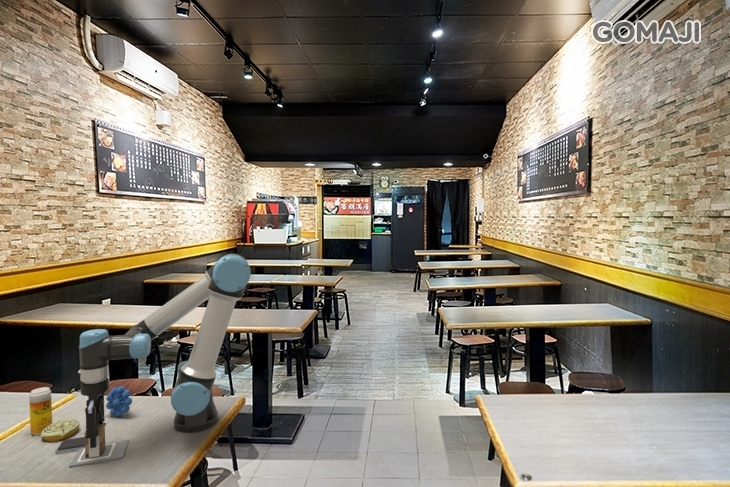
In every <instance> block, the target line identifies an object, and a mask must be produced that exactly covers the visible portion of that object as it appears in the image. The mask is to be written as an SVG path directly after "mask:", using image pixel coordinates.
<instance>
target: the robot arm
mask: <svg viewBox="0 0 730 487" xmlns="http://www.w3.org/2000/svg"><path fill="white" fill-rule="evenodd" d="M251 274H252V272H251V267H250V264H249V263H248V261H247V259H246V258H245V257H244V256H243V255H241V254H239V253H232V252H230V253H226V254H224V255H222V256H221V257H220V258H219V259H218V260H217V261H216V262H215V263H214V264H213V265H212V266H211V267H210V268H208V269H207V270H205V275H203V276H202V277H200V278H199V279H198V280H196V281H195V282H194V283H192V284H191V285H189V286H188V287H187V288H186V289H184V290H182V291H181V292H179V294H177V295H176V296H174V297H173V298H172V299H170V300H168V301H167V302H166V303H165V304H163V305H162V306H160V307H159V308H158V309H156V310H155V311H153V312H152V313H150V314H149V315H148V316H147V317H145V318H144V319H142V320H141V321H140V322H138V323H136V324H134V325H133V326H131V327H130V328H129V330H128V331H127V332H126V333H125V334H120V335H109V331H108V330H107V329H105V328H103V329H102V328H96V329H90V330H89V329H88V330H87V331H84V332H82V333H81V334H80V335H79V345H78V349H79V351H78V352H79V370H78V371H77V373H78V374H79V375H80V383H79V385H80V394H81V396H84V397H87V400H86V403H85V404H86V405H85V406H86V407H85V408H84V411H85V412H84V413H85V431H86V436H85V435H84V437H85V438H87V439H88V440H89V458H91V457H97V456H99V455H100V448H99V435H98V425H100V424H105V427H106V425H107V422H105V421H106V419H105V393H107V391H108V390H109V389H110V387H109V386H110V379H109V376H110V371H109V370H110V369H109V361H114V360H116V361H117V360H124V359H125V360H127V359H128V360H130V359H141V358H146V357H149V355H150V353H151V349H152V341H154V339H156V338H157V337H158V336H159V335H161V334H162V333H163V332H165V331H166V330H168V329H169V328H170V327H171V326H173V325H174V324H176V323H177V322H178V321H180V320H181V319H182V318H184V317H185V316H187V315H188V314H189V313H191V312H192V311H194V310H196V308H197V307H199V306H200V305H202V304H204V302H206V301H208V302H207V305H206V307H205V310H204V314H203V317H202V319H201V322H200V326H199V328H198V331H197V334H196V338H195V340H194V343H193V347H192V350H191V352H190V356H189V358H188V360H185V361H182V362H180V363H179V364H178V365H177V370H176V371H177V379H176V381H175V385H174V388H173V390H172V391H171V395H170V405H171V407H172V409H173V411H175V416H174V420H173V428H174V430H176V432H180V433H197V432H200V431H201V432H202V431H205V430H207V429H209V428H211V427H213V426H214V425H216V424H217V423H218V421H219V412H218V408H217V407H216V404H215V402H214V395H213V394H214V392H213V389H214V388H213V386H214V383H215V381H216V377H217V372H216V371H215V369H214V368H215V366H216V363H217V359H218V358H219V354H220V352H221V348H222V345H223V342H224V338H225V336H226V332H227V330H228V326H229V324H230V321H231V317H232V314H233V311H234V308H235V306H236V302H237V301H239V300H241V299H242V298H243V296H244V292H245V290H246V287H247V285H248V283H249V281H250V279H251Z"/></svg>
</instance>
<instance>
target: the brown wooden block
mask: <svg viewBox="0 0 730 487" xmlns="http://www.w3.org/2000/svg"><path fill="white" fill-rule="evenodd" d="M105 428H106V426H105V424H100V425H98V435H99V448H100V455H103V452H104V450H105V444H106V429H105ZM85 436H86V430H85V431H84V437H85ZM100 455H99V456H100ZM85 458H89V440H88V439H87V438H85Z"/></svg>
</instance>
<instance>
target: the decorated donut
mask: <svg viewBox="0 0 730 487" xmlns="http://www.w3.org/2000/svg"><path fill="white" fill-rule="evenodd" d="M79 429H80V422H79V420H76V419H65V420H64V419H63V420H57V421H55V422H52V424H50V425H48V426H47V427H45V428H44V429H43V431H42V433H41V435H40V438H41V439H43V440H44V441H46V442H48V443H49V442H50V443H55V442H59V441H63V440H66V439H69V437H72V436H73V435H75V434H76V433H77V432H78V430H79Z"/></svg>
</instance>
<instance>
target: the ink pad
mask: <svg viewBox="0 0 730 487" xmlns="http://www.w3.org/2000/svg"><path fill="white" fill-rule="evenodd" d="M80 448H85V436H80V437H74V438H66V439H63V440H61V442H60V443H59V445H58V446H57V448H56V450H55V451H54V452H55V453H54V454H55V455H61V454H65V453H67V454H68V453H72V452H78V450H79V449H80Z"/></svg>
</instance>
